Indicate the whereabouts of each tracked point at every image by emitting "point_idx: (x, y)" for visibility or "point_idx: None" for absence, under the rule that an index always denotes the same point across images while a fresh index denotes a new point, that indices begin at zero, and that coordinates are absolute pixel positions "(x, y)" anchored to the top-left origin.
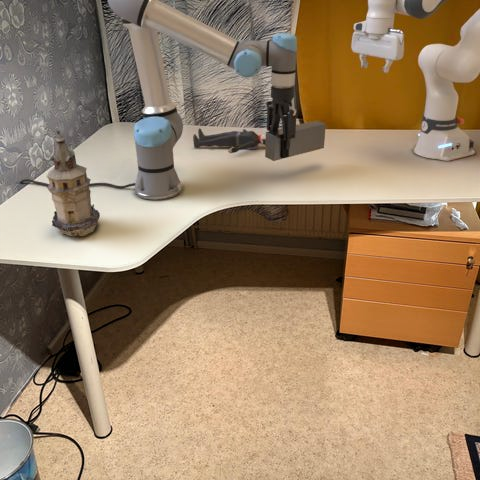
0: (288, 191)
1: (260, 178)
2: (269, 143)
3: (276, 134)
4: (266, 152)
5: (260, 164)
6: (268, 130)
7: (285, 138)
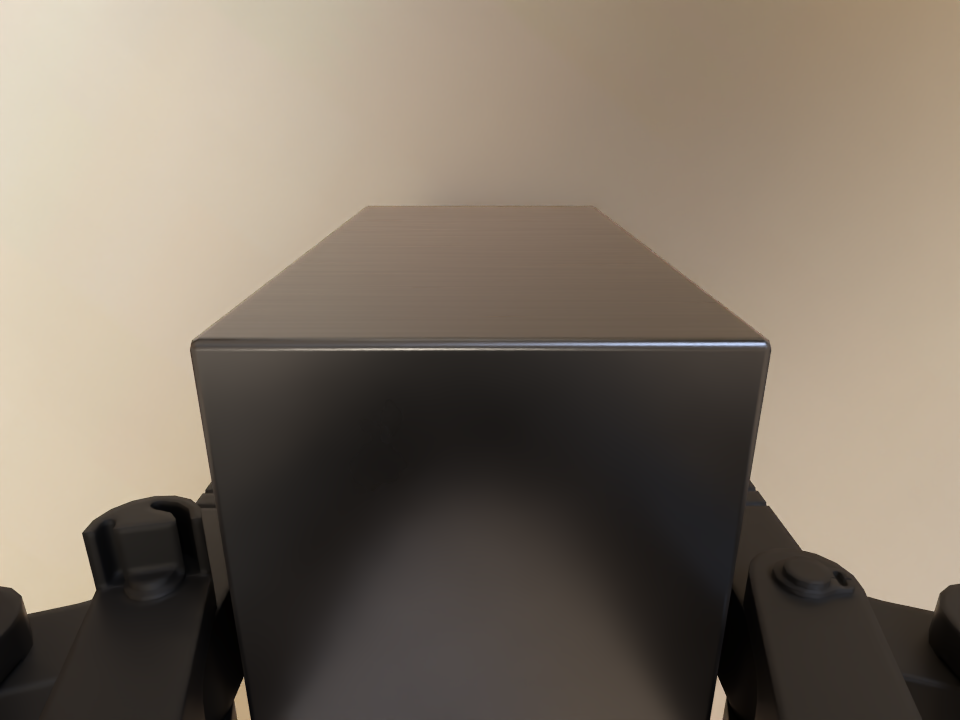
0: (155, 179)
1: (597, 154)
2: (495, 257)
3: (292, 482)
4: (571, 218)
5: (871, 383)
6: (940, 597)
7: (96, 573)
